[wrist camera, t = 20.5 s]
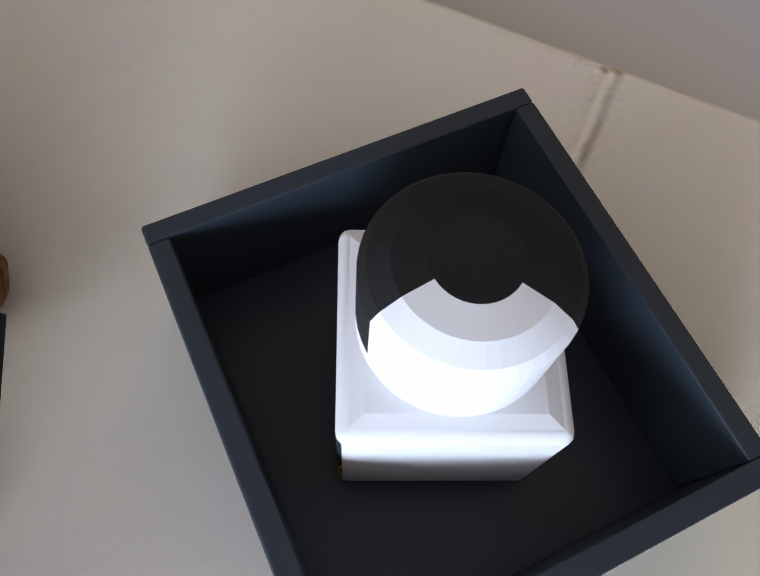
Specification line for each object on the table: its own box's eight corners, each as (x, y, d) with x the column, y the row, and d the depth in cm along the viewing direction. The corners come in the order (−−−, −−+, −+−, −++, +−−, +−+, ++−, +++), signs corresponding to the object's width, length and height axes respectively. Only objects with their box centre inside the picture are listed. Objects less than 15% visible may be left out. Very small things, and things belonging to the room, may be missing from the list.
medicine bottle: (340, 308, 30) (336, 136, 19) (508, 309, 30) (600, 141, 19) (337, 482, 27) (331, 397, 16) (524, 482, 27) (642, 398, 16)
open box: (178, 297, 31) (139, 226, 25) (493, 174, 34) (523, 86, 28) (333, 696, 25) (329, 722, 19) (696, 501, 28) (786, 474, 22)
